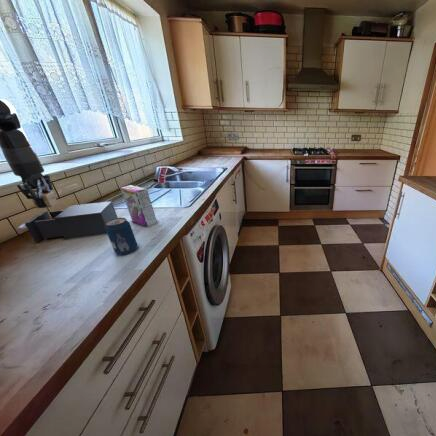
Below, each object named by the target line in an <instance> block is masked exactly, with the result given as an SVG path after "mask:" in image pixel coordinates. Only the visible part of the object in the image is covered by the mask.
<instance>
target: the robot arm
mask: <svg viewBox="0 0 436 436" xmlns="http://www.w3.org/2000/svg"><path fill="white" fill-rule="evenodd" d="M0 150H1V152H2V154H3V157H4V158H5V159H4V160H5V161H6V163H7V164H8V166H9V167H10V169H11V171H12V173H13V175H14V176H16V177H20V178H21V182H22V183H20V184H17V185H16V187H17V188H18V190H19V191H20V192H21V193H22V194H23V195H24V196H25V198H26V199H27V200H32V199H34V200H35V202H36V204H37V206H38V207H39V208H38V209H45V207H46V208H48V207H47V205H46V203H45V201H44V200H43V198H42V196H41V193H49V192H52V191H54V188H53V187H54V186H53V183H52V180H51V177H50V174H44V172H45V169H44V167H43V164H42V163H41V160H40V158H39V157H38V154H37V152H36V151H35V150H34V148H33V147H32V145H31V143H30V141H29V139H28V137H27V135H26V133H25V131H24V129H23V127H22V124H21V121H20V119H19V116H18V114H17V111H16V109H15V108H14V106H13V105H12V104H11V103H10V102H9V101H7V100H5V99H3V98H2V97H0ZM36 194H37V195H36Z"/></svg>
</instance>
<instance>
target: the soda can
mask: <svg viewBox="0 0 436 436" xmlns="http://www.w3.org/2000/svg"><path fill="white" fill-rule="evenodd" d="M105 230H106V232H107V237H108V239H109V241H110V244H111V246H112V249H113V251H114V252H115V253H116V254H117V255H120V256H125V255H129V254H131V253H134V252H135V251H136V250H137V249H138V242H137V239H136V236H135V233H134V230H133V228H132V225H131V222H130V221H128V220H127V217H118V218H115V219H112V220H109V221H107V222H106V227H105Z"/></svg>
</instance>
